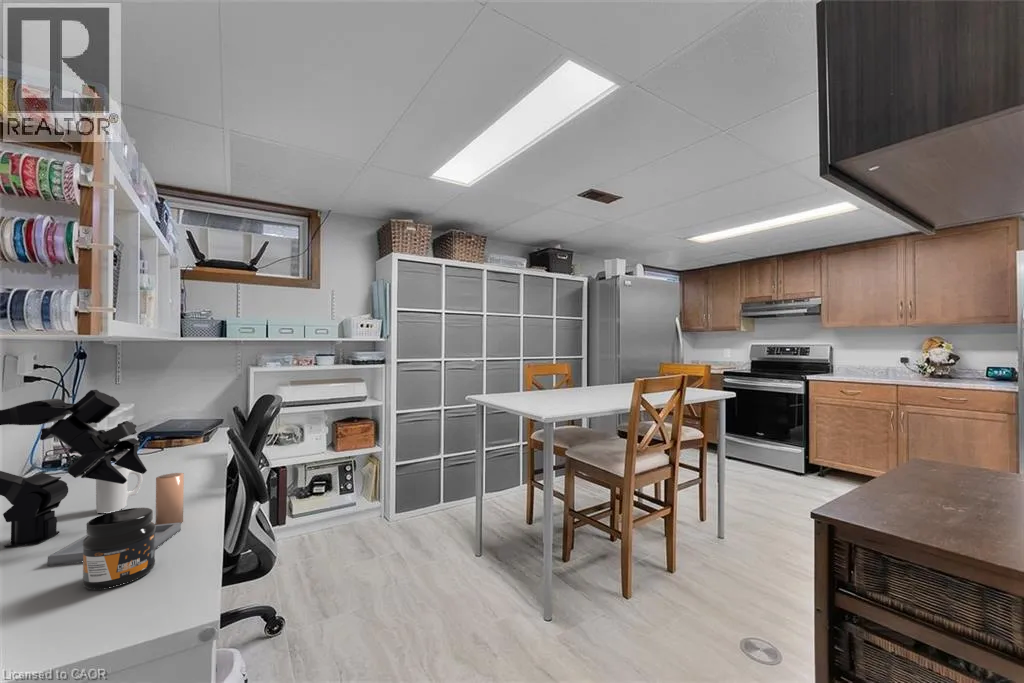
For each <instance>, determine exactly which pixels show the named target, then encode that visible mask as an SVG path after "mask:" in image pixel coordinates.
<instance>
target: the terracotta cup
mask: <svg viewBox="0 0 1024 683" xmlns="http://www.w3.org/2000/svg"><path fill="white" fill-rule="evenodd" d="M184 476H185V475H184V473H183V472H174V473H173V472H172V473H166V474H161V475H158V476H157V477H155V523H154V524H155V525H159V524H169V523H179V522H181V524H183V523H184V496H185V495H184V494H185V493H184V488H185V487H184V484H185V482H184V481H185V480H184V479H185V477H184ZM182 522H183V523H182Z"/></svg>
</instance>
